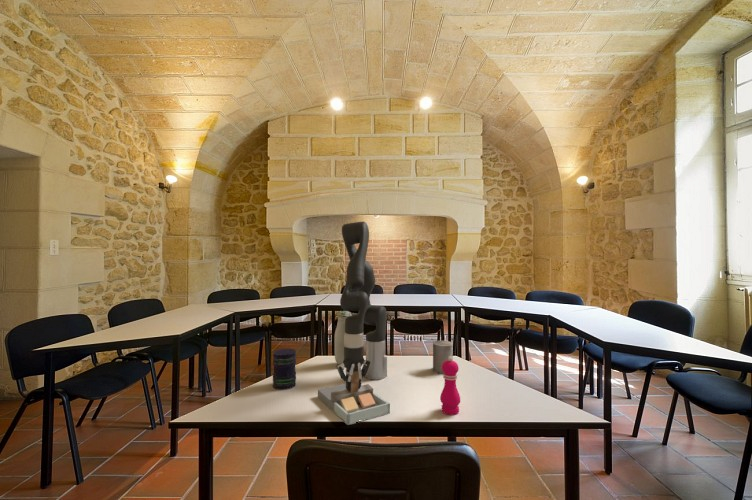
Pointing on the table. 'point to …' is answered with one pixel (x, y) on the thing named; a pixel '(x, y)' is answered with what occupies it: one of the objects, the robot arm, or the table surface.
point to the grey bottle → (340, 336)
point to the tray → (363, 411)
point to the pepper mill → (450, 388)
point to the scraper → (354, 391)
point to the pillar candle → (441, 354)
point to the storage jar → (284, 369)
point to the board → (326, 395)
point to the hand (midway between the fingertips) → (353, 389)
